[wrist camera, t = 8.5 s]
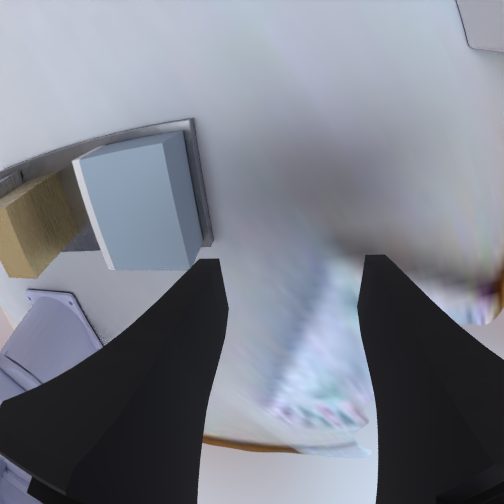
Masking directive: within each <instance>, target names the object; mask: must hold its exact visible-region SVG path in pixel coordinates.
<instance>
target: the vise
mask: <svg viewBox="0 0 504 504" xmlns="http://www.w3.org/2000/svg"><path fill="white" fill-rule="evenodd" d="M182 130H183V135H184V141H185V147H186V153H187V159H188V164H189V170H190V175H191V181H192V186H193V192H194V197H195V202H196V208H197V213H198V218H199V223H200V228H201V233H202V238H203V243H202V245H201V247H211V245H212V243H213V234H212V229H211V224H210V218H209V212H208V207H207V201H206V195H205V189H204V184H203V178H202V172H201V165H200V159H199V153H198V147H197V140H196V134H195V127H194V120H193V118H191V119H184V120H178V121H172V122H166V123H161V124H156V125H150V126H145V127H141V128H136V129H131V130H127V131H123V132H118V133H114V134H110V135H106V136H102V137H98V138H95V139H91V140H87V141H84V142H80V143H77V144H74V145H70V146H67V147H64V148H61V149H58V150H55V151H52V152H49V153H46V154H43V155H40V156H37V157H34V158H32V159H29V160H26V161H24V162H21V163H19V164H16V165H13V166H11V167H9V168H6V169H4V170H2V171H0V199H2V198H3V197H4V196H6V195H7V194H9V193H10V192H12V191H13V190H15V189H16V188H18V187H19V186H21V185H22V184H24V183H25V182H27V181H28V180H30V179H34V178H37V177H41V176H44V175H48V174H51V173H55V172H58V174H59V177H60V181H61V184H62V187H63V190H64V194H65V197H66V200H67V203H68V206H69V209H70V212H71V214H72V217H73V220H74V223H75V226H76V228H77V231H78V235H77V236H76V237H75V238H74V239H73V240H72V241H71V242H70V243H69V244H68V245H67V246H66V247H65V248H64V249H63V250H62V251H61V252H68V251H95V250H101V249H100V247H99V244H98V241H97V239H96V236H95V233H94V230H93V228H92V225H91V222H90V219H89V216H88V213H87V210H86V207H85V204H84V201H83V198H82V195H81V191H80V188H79V185H78V181H77V178H76V174H75V171H74V167H73V163H72V161H73V160H75V159H76V158H78V157H80V156H82V155H83V154H85V153H87V152H89V151H91V150H93V149H95V148H96V147H98V146H102V145H109V144H113V143H118V142H122V141H127V140H132V139H137V138H142V137H147V136H152V135H158V134H163V133H169V132H176V131H182Z"/></svg>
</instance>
